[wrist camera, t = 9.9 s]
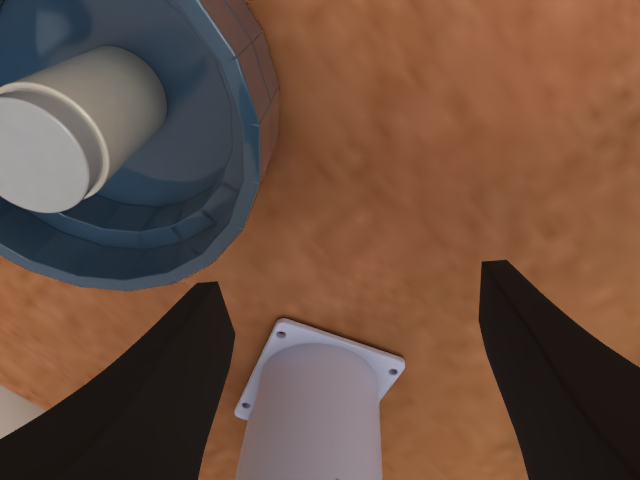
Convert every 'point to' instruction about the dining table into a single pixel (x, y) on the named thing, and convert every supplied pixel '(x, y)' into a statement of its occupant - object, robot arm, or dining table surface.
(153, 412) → the robot arm
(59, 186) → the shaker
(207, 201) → the bowl
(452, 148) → the dining table surface
